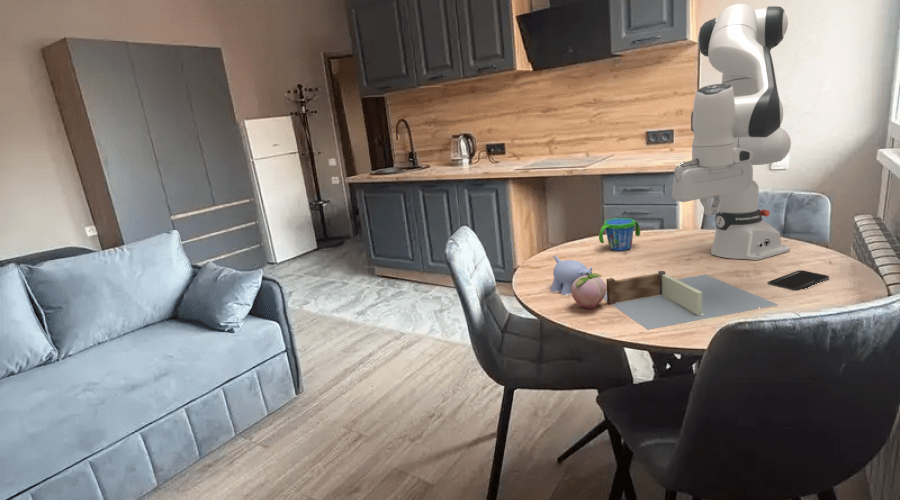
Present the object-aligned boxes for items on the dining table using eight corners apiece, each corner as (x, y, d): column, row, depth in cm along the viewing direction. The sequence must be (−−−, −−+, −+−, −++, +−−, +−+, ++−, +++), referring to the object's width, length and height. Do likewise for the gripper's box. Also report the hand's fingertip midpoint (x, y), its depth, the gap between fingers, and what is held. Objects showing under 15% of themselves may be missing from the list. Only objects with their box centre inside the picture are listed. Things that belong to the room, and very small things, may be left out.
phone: (765, 282, 132) (800, 269, 138) (765, 286, 132) (799, 273, 138) (796, 290, 125) (831, 276, 131) (796, 294, 125) (831, 280, 131)
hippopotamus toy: (582, 302, 135) (580, 269, 132) (542, 290, 147) (540, 259, 144) (608, 291, 140) (607, 259, 138) (567, 280, 153) (566, 251, 150)
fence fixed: (662, 292, 134) (662, 269, 132) (666, 294, 132) (666, 270, 130) (606, 302, 131) (606, 278, 130) (610, 304, 130) (609, 280, 128)
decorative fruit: (584, 299, 136) (582, 265, 133) (611, 305, 130) (610, 269, 127) (564, 311, 130) (562, 275, 127) (592, 318, 124) (591, 280, 121)
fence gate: (662, 294, 132) (662, 274, 130) (666, 293, 132) (666, 274, 130) (697, 314, 117) (697, 293, 116) (701, 314, 117) (702, 292, 116)
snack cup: (606, 255, 173) (605, 227, 170) (593, 248, 183) (592, 221, 180) (648, 248, 175) (647, 220, 172) (632, 242, 185) (632, 215, 182)
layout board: (705, 275, 143) (705, 274, 143) (778, 306, 118) (778, 304, 118) (595, 294, 138) (595, 293, 138) (647, 331, 114) (647, 329, 113)
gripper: (684, 164, 112) (684, 223, 115) (758, 151, 116) (756, 209, 120) (665, 162, 118) (666, 218, 121) (737, 150, 122) (735, 205, 126)
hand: (711, 213), depth 121 cm, fingers closed
